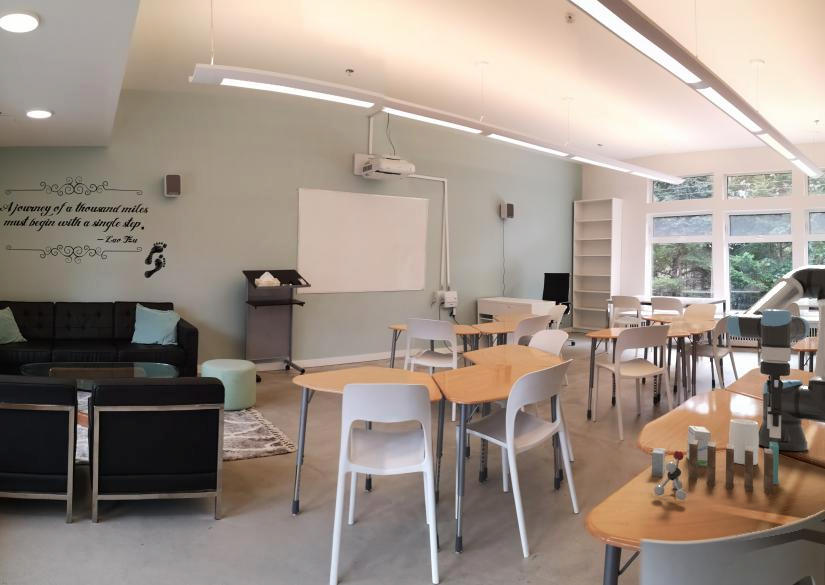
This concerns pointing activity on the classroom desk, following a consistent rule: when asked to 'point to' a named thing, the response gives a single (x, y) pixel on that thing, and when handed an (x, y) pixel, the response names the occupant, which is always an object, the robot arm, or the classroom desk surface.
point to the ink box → (699, 442)
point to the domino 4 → (748, 468)
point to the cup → (744, 439)
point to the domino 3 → (730, 465)
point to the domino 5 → (768, 471)
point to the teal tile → (775, 460)
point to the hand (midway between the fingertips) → (773, 433)
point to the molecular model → (673, 477)
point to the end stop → (658, 462)
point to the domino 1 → (693, 460)
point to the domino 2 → (711, 463)
